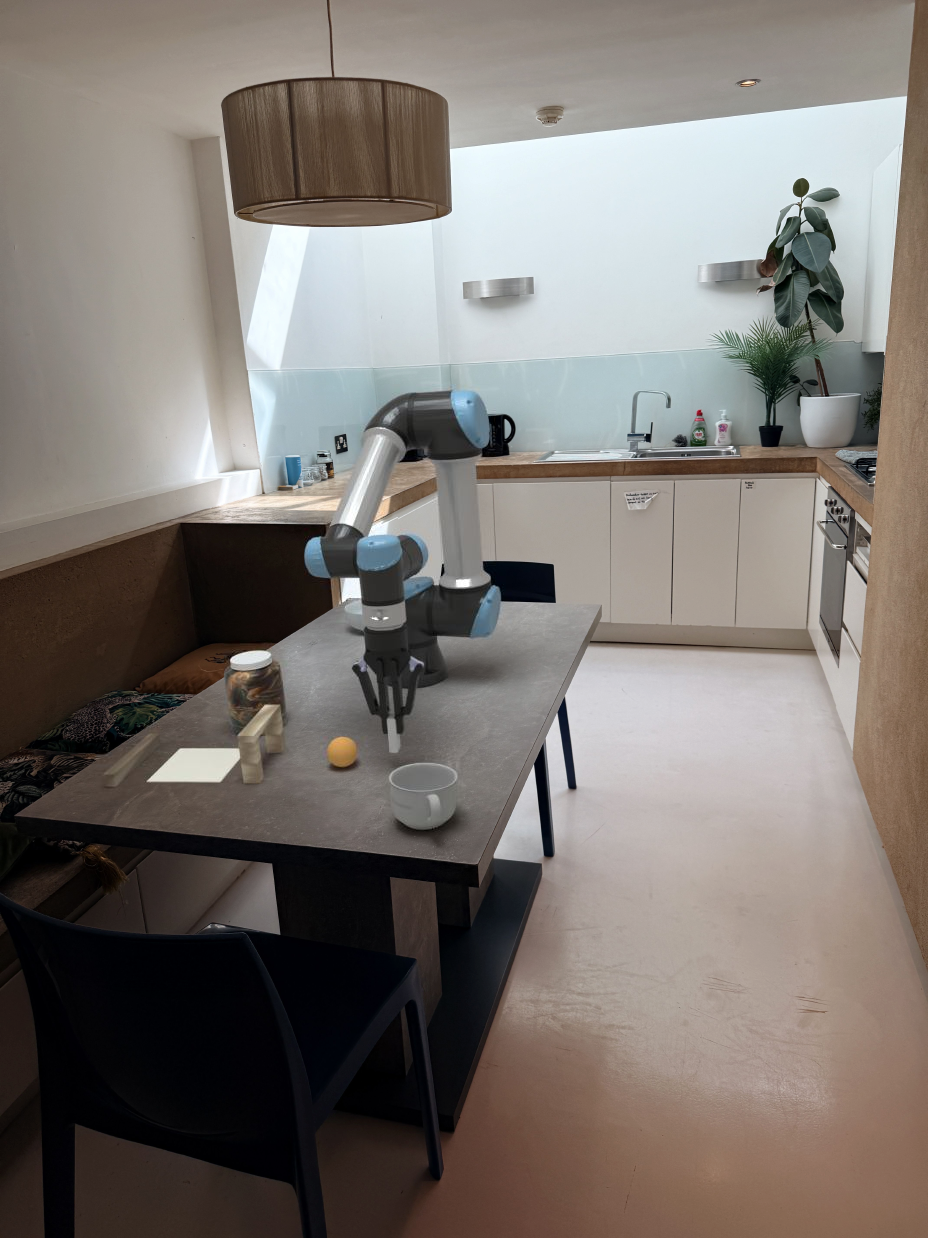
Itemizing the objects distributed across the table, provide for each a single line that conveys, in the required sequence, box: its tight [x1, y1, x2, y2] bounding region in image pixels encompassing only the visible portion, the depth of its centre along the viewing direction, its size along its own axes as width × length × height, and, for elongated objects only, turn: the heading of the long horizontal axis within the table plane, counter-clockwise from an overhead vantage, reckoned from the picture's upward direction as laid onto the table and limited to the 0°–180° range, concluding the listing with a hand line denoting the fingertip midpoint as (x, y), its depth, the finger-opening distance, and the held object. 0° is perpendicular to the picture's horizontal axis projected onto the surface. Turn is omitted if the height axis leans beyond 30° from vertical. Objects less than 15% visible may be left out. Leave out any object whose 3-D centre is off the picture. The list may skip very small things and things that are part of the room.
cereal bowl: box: [344, 600, 366, 633], centre depth 243 cm, size 17×17×7 cm
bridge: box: [236, 705, 286, 784], centre depth 161 cm, size 3×14×9 cm, turn 173°
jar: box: [223, 650, 288, 736], centre depth 179 cm, size 12×12×15 cm
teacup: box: [388, 762, 459, 831], centre depth 137 cm, size 14×11×8 cm
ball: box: [326, 736, 358, 768], centre depth 160 cm, size 6×6×6 cm
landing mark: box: [146, 747, 241, 784], centre depth 164 cm, size 14×14×1 cm
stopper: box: [102, 733, 162, 788], centre depth 165 cm, size 2×18×2 cm, turn 173°
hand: (395, 749), depth 158 cm, fingers closed
